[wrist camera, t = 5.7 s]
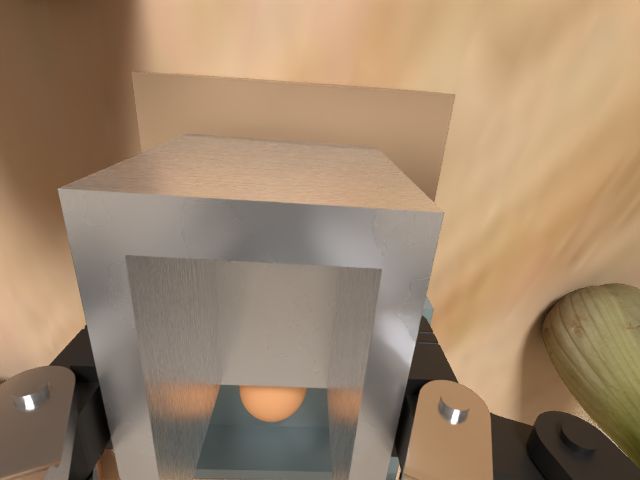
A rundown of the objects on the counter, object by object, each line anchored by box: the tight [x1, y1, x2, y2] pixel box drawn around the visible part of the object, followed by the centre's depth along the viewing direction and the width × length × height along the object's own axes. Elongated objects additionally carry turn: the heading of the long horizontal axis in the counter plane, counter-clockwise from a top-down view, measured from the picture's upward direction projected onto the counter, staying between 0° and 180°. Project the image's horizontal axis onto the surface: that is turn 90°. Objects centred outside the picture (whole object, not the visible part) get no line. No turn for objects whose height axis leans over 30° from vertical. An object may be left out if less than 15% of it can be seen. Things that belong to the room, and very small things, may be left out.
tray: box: [193, 296, 434, 480], centre depth 20 cm, size 12×13×4 cm
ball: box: [239, 385, 307, 422], centre depth 16 cm, size 3×3×3 cm
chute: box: [57, 134, 444, 480], centre depth 10 cm, size 9×6×6 cm, turn 176°
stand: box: [131, 72, 455, 202], centre depth 15 cm, size 9×10×5 cm
